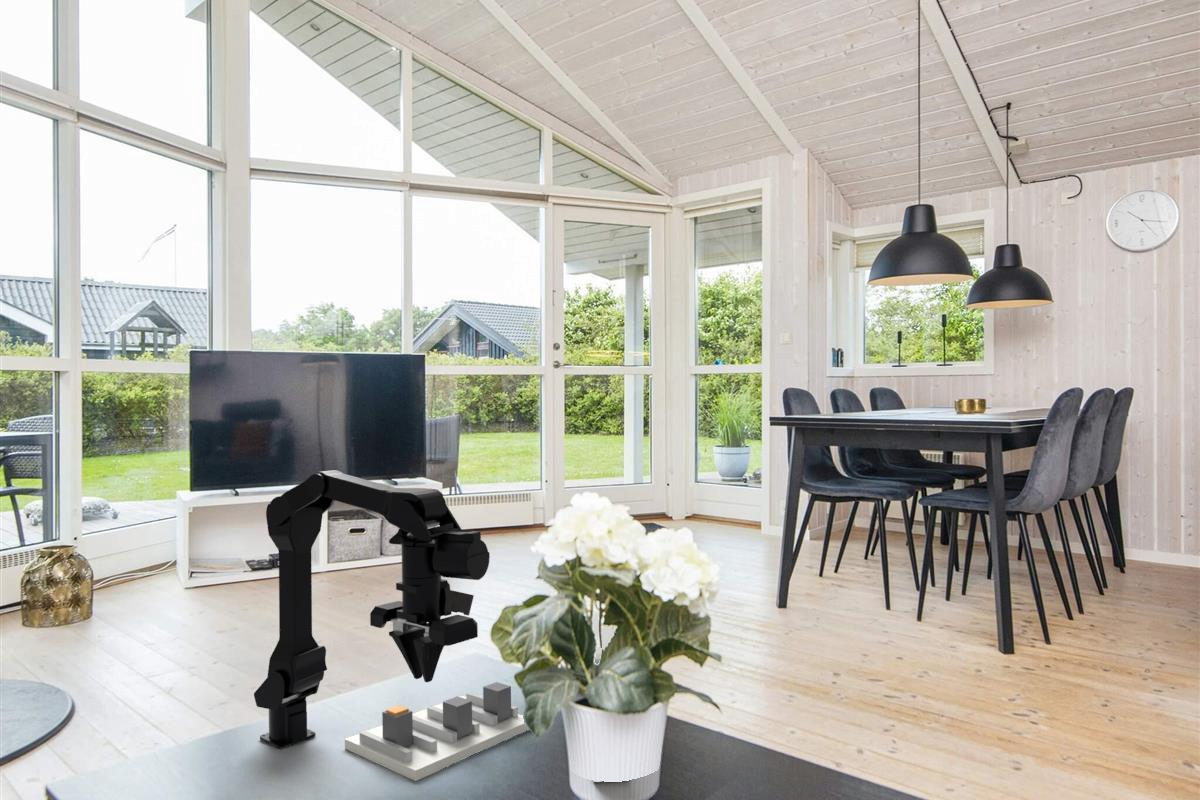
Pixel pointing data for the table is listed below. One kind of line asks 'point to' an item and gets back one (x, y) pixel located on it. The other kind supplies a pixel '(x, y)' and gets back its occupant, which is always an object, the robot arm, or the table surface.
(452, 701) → the block
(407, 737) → the block
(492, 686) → the block
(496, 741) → the breaker board
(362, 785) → the table surface
